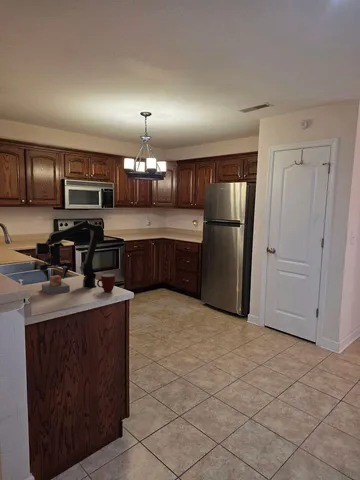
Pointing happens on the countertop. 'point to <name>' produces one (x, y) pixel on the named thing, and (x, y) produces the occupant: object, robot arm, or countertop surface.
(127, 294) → the countertop surface
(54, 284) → the cube
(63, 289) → the plinth
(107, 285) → the mug
